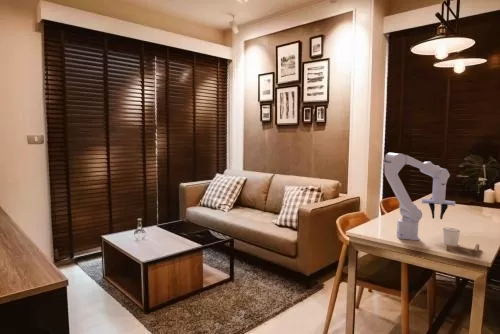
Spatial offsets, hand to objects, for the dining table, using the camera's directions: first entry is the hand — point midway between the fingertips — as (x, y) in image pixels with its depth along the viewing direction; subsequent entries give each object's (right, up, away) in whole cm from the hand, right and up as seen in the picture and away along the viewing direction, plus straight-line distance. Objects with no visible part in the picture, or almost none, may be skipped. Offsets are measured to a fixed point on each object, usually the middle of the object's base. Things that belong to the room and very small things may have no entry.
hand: (437, 218), depth 169 cm
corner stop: (+2, -12, -22) cm, 25 cm away
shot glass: (+1, -11, -10) cm, 15 cm away
